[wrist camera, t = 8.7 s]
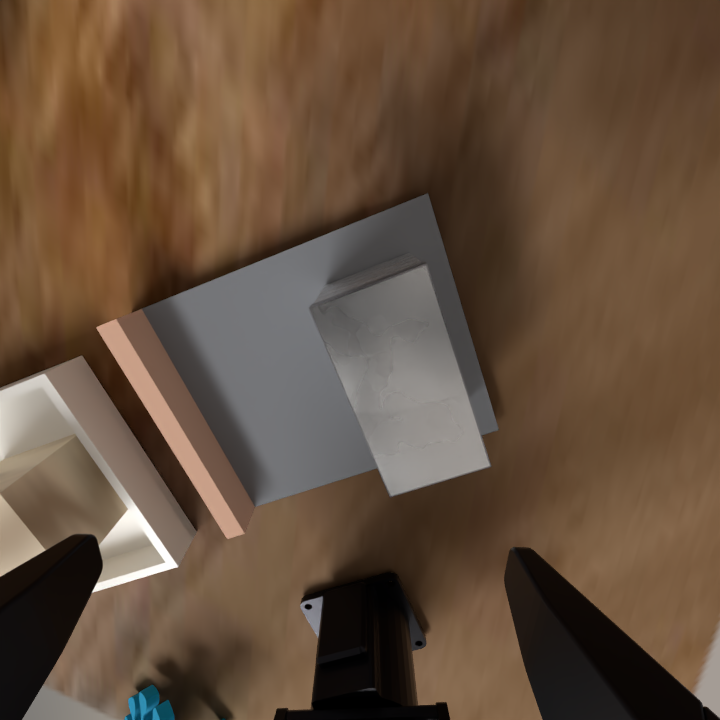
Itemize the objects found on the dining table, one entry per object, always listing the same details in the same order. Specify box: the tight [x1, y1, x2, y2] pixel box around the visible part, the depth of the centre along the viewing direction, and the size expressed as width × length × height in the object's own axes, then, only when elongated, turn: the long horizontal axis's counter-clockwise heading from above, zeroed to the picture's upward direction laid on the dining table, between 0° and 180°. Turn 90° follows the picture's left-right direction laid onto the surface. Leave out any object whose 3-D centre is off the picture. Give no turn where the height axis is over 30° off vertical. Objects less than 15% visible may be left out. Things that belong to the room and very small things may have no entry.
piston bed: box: [96, 193, 499, 539], centre depth 19 cm, size 12×15×3 cm
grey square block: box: [309, 253, 491, 497], centre depth 16 cm, size 8×4×5 cm, turn 21°
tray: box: [0, 356, 197, 593], centre depth 21 cm, size 12×9×2 cm
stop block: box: [0, 434, 128, 577], centre depth 20 cm, size 5×5×5 cm
